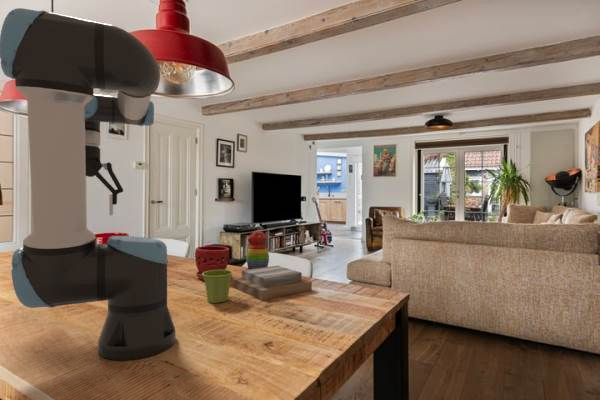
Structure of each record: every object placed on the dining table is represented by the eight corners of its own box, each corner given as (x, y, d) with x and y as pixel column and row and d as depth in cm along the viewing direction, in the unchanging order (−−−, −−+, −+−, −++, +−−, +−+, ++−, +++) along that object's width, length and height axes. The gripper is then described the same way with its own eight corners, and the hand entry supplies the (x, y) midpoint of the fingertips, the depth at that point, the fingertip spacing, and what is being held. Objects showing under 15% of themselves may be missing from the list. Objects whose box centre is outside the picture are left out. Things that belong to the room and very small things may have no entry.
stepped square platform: (311, 290, 120) (311, 272, 120) (261, 300, 108) (261, 281, 108) (279, 279, 136) (279, 263, 136) (232, 286, 124) (232, 270, 124)
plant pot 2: (196, 304, 103) (196, 275, 103) (209, 295, 113) (209, 268, 113) (226, 306, 102) (226, 276, 102) (237, 296, 111) (237, 270, 111)
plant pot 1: (211, 283, 129) (211, 251, 129) (188, 278, 136) (188, 247, 136) (236, 276, 140) (236, 246, 140) (213, 272, 147) (213, 244, 147)
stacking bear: (251, 270, 152) (251, 229, 152) (273, 271, 149) (273, 230, 149) (240, 275, 142) (240, 231, 142) (262, 277, 139) (262, 232, 139)
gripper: (132, 150, 114) (132, 214, 114) (40, 145, 105) (40, 215, 105) (130, 146, 107) (130, 215, 107) (32, 141, 98) (32, 216, 98)
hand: (86, 215), depth 106 cm, fingers open, 13 cm apart
